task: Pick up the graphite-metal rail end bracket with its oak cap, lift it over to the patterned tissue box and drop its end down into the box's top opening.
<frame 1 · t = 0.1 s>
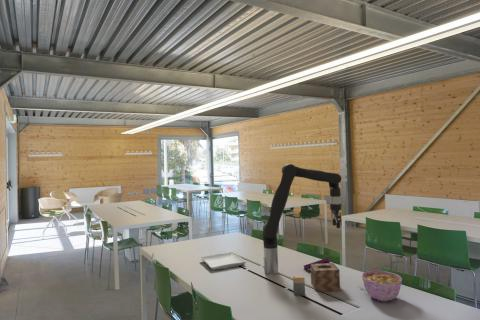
hand: (336, 226, 225), 29 cm above the table, fingers open, 8 cm apart
square plate: (222, 264, 248), on the table
bowl of food: (382, 298, 179), on the table
mounting bracket: (315, 271, 225), on the table
patterned tissue box: (325, 286, 197), on the table
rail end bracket: (299, 294, 188), on the table
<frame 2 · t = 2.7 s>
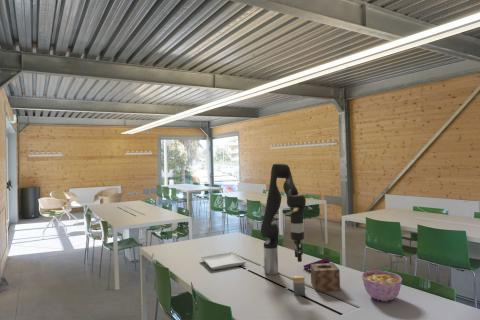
hand: (298, 259, 188), 20 cm above the table, fingers open, 8 cm apart
nothing on the table moved.
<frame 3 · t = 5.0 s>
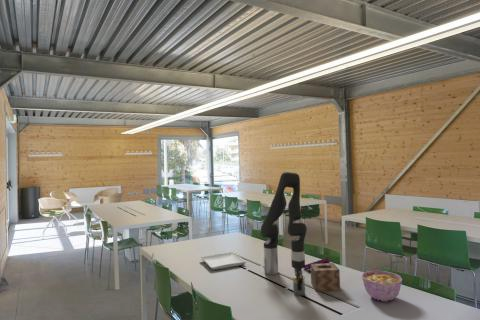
hand: (299, 288, 188), 3 cm above the table, fingers closed on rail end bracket, 3 cm apart
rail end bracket: (299, 294, 188), on the table, touching gripper
everything else where it was.
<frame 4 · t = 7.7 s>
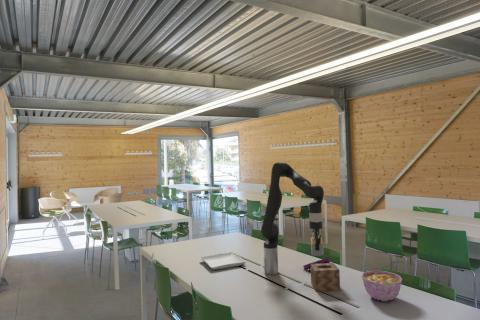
hand: (316, 249, 194), 23 cm above the table, fingers closed on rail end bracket, 3 cm apart
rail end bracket: (317, 254, 194), point 20 cm above the table, touching gripper
everything else where it was.
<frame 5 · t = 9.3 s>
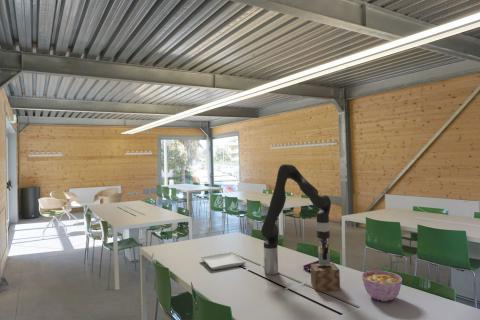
hand: (324, 258, 197), 17 cm above the table, fingers closed on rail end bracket, 3 cm apart
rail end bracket: (324, 263, 197), point 14 cm above the table, touching gripper
everything else where it was.
when the fingers open (13 cm above the table, at t = 10.7 s): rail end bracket drops 3 cm, resting on patterned tissue box.
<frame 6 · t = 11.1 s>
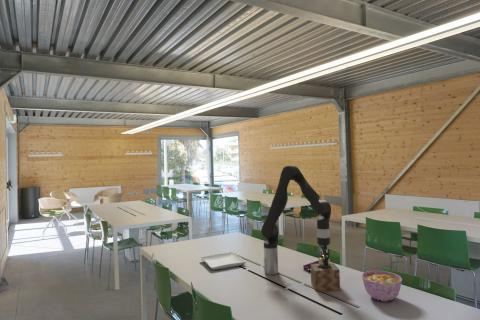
hand: (324, 263, 197), 14 cm above the table, fingers open, 7 cm apart
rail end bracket: (324, 275, 197), point 7 cm above the table, touching patterned tissue box
everything else where it was.
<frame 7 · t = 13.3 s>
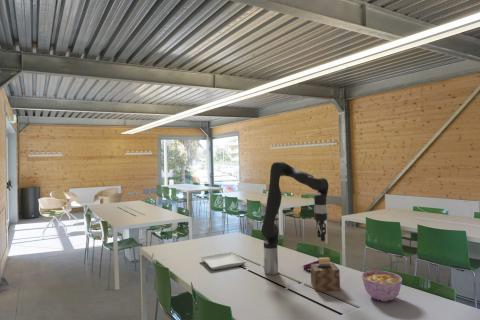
hand: (321, 238, 198), 28 cm above the table, fingers open, 8 cm apart
nothing on the table moved.
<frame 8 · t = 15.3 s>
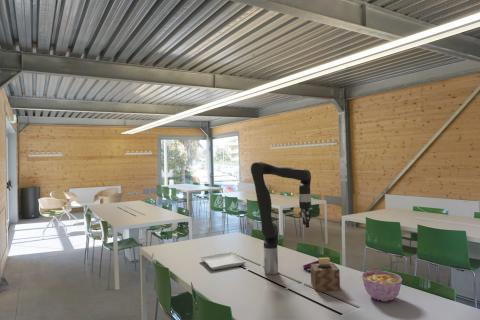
hand: (305, 226, 213), 33 cm above the table, fingers open, 8 cm apart
nothing on the table moved.
at the end: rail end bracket 0.1 cm off-centre on the patterned tissue box, point 7.0 cm above the patterned tissue box's base; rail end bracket tilted 0°; the gripper is holding nothing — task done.
